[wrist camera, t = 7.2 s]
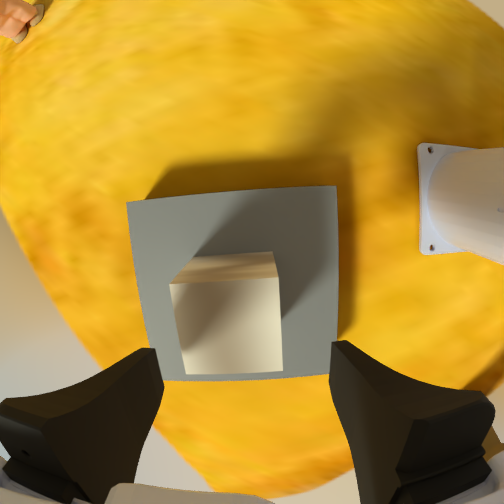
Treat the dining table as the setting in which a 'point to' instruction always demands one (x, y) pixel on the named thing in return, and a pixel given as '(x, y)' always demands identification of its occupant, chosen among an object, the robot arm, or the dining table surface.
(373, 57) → the dining table surface
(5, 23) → the grandmother figurine
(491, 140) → the dining table surface
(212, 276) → the cream cube
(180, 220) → the base plinth
